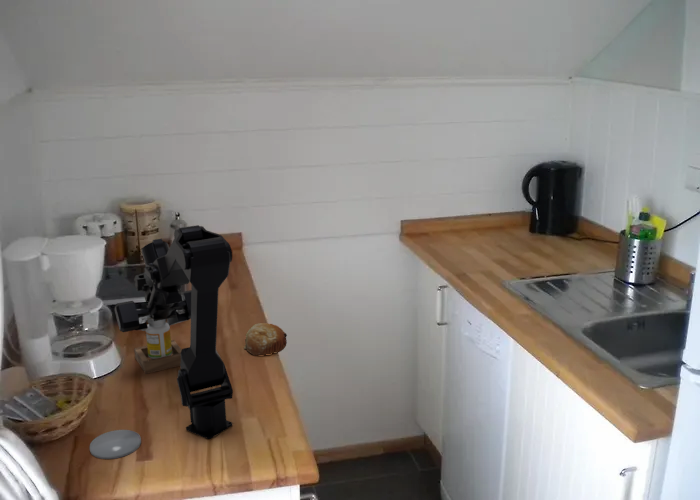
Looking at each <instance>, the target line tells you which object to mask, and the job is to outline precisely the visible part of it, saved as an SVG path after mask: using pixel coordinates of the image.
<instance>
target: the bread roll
mask: <svg viewBox="0 0 700 500" xmlns="http://www.w3.org/2000/svg"><path fill="white" fill-rule="evenodd" d="M287 336H288V335H287V333H286V332H285V331H284V330H283V329H282V328H281V327H280V326H278V325H276V324H273V323H265V322H264V323H261V322H259V323H256V324H254V325H253V326H252V327H250V328H249V330H248V331H247V333H246V334H245V339H244V340H245V341H244V342H245V343H244V344H245V345H244V348H243V349H244V350H246V349H247V350H246V351H247V352H248V353H249V354H251V355H254V356H257V355H266V354H271V353H274V352H277V353H276V354H279V353H280V352H282V351H284V349H285V348H286V346H287V343H288V342H287Z"/></svg>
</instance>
